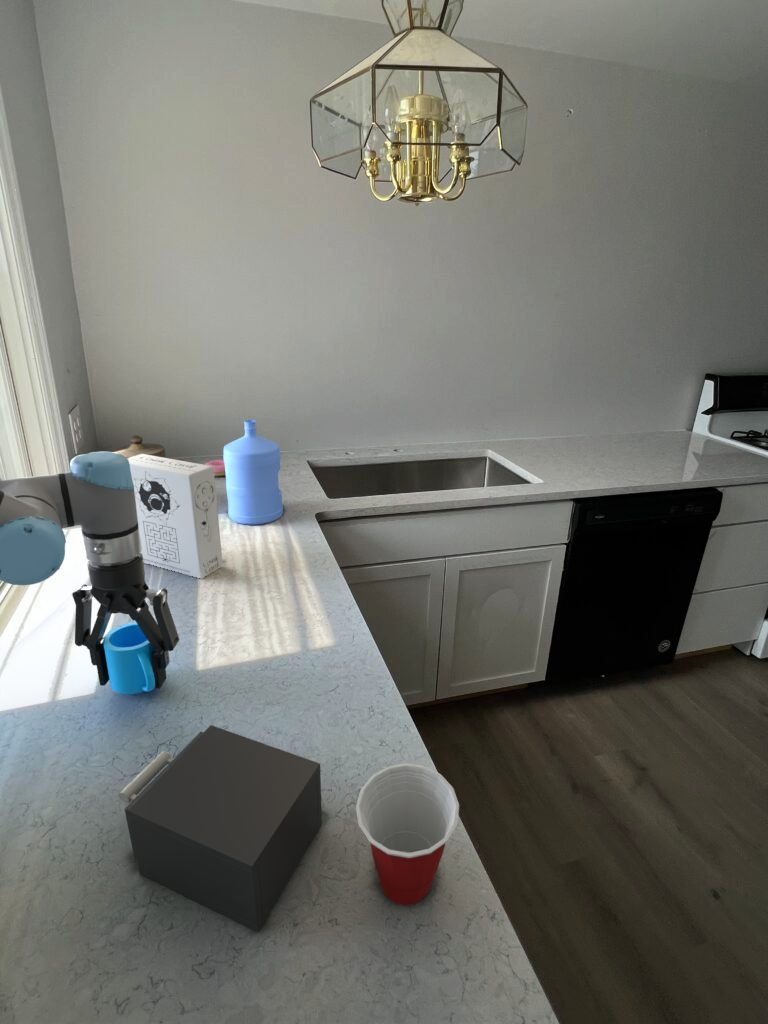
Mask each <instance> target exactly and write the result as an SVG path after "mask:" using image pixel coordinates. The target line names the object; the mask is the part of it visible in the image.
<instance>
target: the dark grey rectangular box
mask: <svg viewBox="0 0 768 1024" xmlns="http://www.w3.org/2000/svg"><path fill="white" fill-rule="evenodd" d="M203 732H204V733H203V734H202V735H201V736H200V737H199V738H198V739H197V740H196V741H195V742H194V743H193V744H192V745H191V746H190V747H189V748H188V749H187V750H186V751H185V752H184V753H183V754H182V755H181V756H180V757H179V758H178V759H177V760H176V761H175V762H174V763H173V764H172V765H171V766H170V767H169V768H168V769H167V771H166V772H165V773H164V774H163V775H162V776H161V777H160V778H159V779H158V780H157V781H156V782H155V783H154V784H153V785H152V786H151V787H150V788H149V789H148V790H147V791H146V792H145V793H144V794H143V795H142V796H141V797H140V798H139V799H138V800H137V801H136V802H135V803H134V804H133V805H132V806H131V807H130V808H129V809H128V810H127V812H128V817H129V822H130V827H131V832H132V837H133V842H134V847H135V852H136V857H137V860H136V861H137V867H138V871H139V875H141V876H143V877H144V878H147V879H149V880H150V881H153V882H155V883H157V884H159V885H161V886H163V887H165V888H167V889H169V890H171V891H172V892H175V893H177V894H179V895H181V896H183V897H186V898H187V899H189V900H191V901H193V902H195V903H197V904H200V905H202V906H204V907H205V908H207V909H209V910H211V911H214V912H216V913H218V914H220V915H221V916H224V917H226V918H227V919H230V920H231V921H234V922H236V923H238V924H240V925H242V926H244V927H246V928H248V929H250V930H252V931H254V932H256V933H259V932H260V931H261V929H262V927H263V925H264V924H265V922H266V920H267V918H268V917H269V915H270V913H271V912H272V910H273V908H274V907H275V905H276V903H277V902H278V900H279V898H280V896H281V894H282V893H283V891H284V889H285V888H286V886H287V885H288V883H289V881H290V879H291V878H292V876H293V874H294V872H295V871H296V869H297V867H298V866H299V864H300V862H301V860H302V858H303V856H304V855H305V853H306V852H307V850H308V848H309V846H310V845H311V843H312V841H313V840H314V838H315V836H316V834H317V833H318V831H319V829H320V827H321V826H322V824H323V820H322V819H323V816H322V813H323V812H322V782H321V781H322V780H321V775H322V774H321V763H320V762H317V761H314V760H311V759H309V758H305V757H304V756H303V757H302V756H300V755H297V754H294V753H292V752H289V751H287V750H286V751H285V750H283V749H280V748H278V747H274V746H271V745H269V744H266V743H263V742H260V741H257V740H255V739H252V738H249V737H246V736H243V735H241V734H238V733H234V732H232V731H229V730H226V729H223V728H221V727H218V726H215V725H213V724H210V725H209V726H208V727H207V728H206V729H205V730H204V731H203Z"/></svg>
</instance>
